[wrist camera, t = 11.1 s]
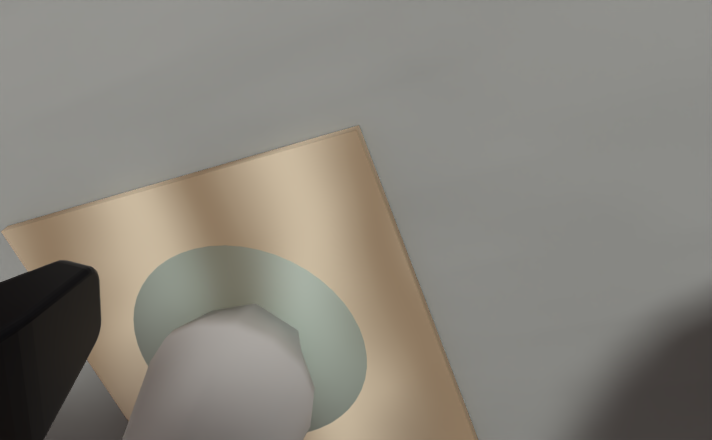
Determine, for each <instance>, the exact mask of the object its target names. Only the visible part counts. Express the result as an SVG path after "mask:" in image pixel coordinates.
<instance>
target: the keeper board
mask: <svg viewBox="0 0 712 440" xmlns="http://www.w3.org/2000/svg"><path fill="white" fill-rule="evenodd" d="M1 232H2V234H3V235H4V237H5V238H6V240H7V241H8V243H9V244H10V246H11V247H12V249H13V250H14V252H15V253H16V255H17V256H18V258H19V259H20V260H21V262H22V263H23V265H24V266H25V268H26V269H27V271H28V272H29V271H32V270H34V269H37V268H39V267H42V266H45V265H47V264H50V263H53V262H56V261H59V260H68V261H72V262H76V263H80V264H84V265H88V266H91V267H93V268H94V269H96V271H97V272H98V275H99V280H100V300H101V329H100V333H99V336H98V339H97V341H96V344H95V345H94V347H93V349H92V351H91V353H90V355H89V357H88V358H87V360H88V362H89V363H90V365H91V366H92V368H93V369H94V371H95V372H96V374H97V375H98V377H99V378H100V380H101V381H102V383H103V384H104V386H105V387H106V389H107V390H108V392H109V393H110V395H111V396H112V398H113V399H114V401H115V402H116V404H117V405H118V407H119V408H120V410H121V411H122V413H123V414H124V416H125V417H126V419H127V420H128V422H129V419H130V416H131V413H132V411H133V408H134V405H135V402H136V400H137V397H138V394H139V391H140V388H141V386H142V383H143V380H144V377H145V375H146V372H147V369H148V366H149V363H150V361H151V359H152V358H153V356H154V355H155V353H156V352H157V350H158V349H159V347H160V346H161V344H162V343H163V341H164V340H165V338H166V337H167V336H168V335H169V334H170V333H171V332H172V331H173V330H174V329H176V328H178V327H180V326H182V325H184V324H186V323H188V322H190V321H192V320H194V319H196V318H198V317H200V316H202V315H204V314H206V313H208V312H210V311H213V310H219V309H225V308H231V307H237V306H243V305H249V304H255V303H256V304H257V305H259V306H260V307H262V308H263V309H265V310H267V311H268V312H270V313H271V314H273V315H274V316H276V317H278V318H279V319H281V320H282V321H284V322H286V323H287V324H289V325H290V326H292V327H293V328H295V329H297V330H298V333H299V339H300V345H301V351H302V354H303V356H304V359H305V362H306V365H307V368H308V371H309V373H310V376H311V379H312V382H313V385H314V388H315V390H314V399H313V408H312V417H311V426H310V428H309V430H308V432H307V433H306V435H305V437H304V439H303V440H478V438H477V435H476V432H475V430H474V427H473V425H472V422H471V419H470V417H469V414H468V411H467V409H466V406H465V403H464V401H463V398H462V396H461V393H460V390H459V388H458V385H457V382H456V380H455V377H454V375H453V372H452V369H451V367H450V364H449V361H448V359H447V356H446V353H445V351H444V348H443V346H442V343H441V340H440V338H439V335H438V332H437V330H436V327H435V324H434V322H433V319H432V317H431V314H430V311H429V309H428V306H427V303H426V301H425V298H424V296H423V293H422V290H421V288H420V285H419V282H418V280H417V277H416V274H415V272H414V269H413V267H412V264H411V261H410V259H409V256H408V253H407V251H406V248H405V245H404V243H403V240H402V238H401V235H400V232H399V230H398V227H397V224H396V222H395V219H394V217H393V214H392V211H391V209H390V206H389V203H388V201H387V198H386V195H385V193H384V190H383V188H382V185H381V182H380V180H379V177H378V174H377V172H376V169H375V166H374V164H373V161H372V159H371V156H370V153H369V151H368V148H367V145H366V143H365V140H364V137H363V135H362V132H361V130H360V127H359V125H358V126H355V127H351V128H348V129H344V130H341V131H337V132H334V133H330V134H327V135H323V136H320V137H316V138H313V139H310V140H306V141H303V142H299V143H296V144H292V145H289V146H285V147H282V148H278V149H275V150H271V151H268V152H264V153H261V154H257V155H254V156H250V157H247V158H243V159H240V160H236V161H233V162H229V163H226V164H223V165H219V166H216V167H212V168H209V169H205V170H202V171H198V172H195V173H191V174H188V175H184V176H181V177H177V178H174V179H170V180H167V181H163V182H160V183H156V184H153V185H149V186H146V187H142V188H139V189H135V190H132V191H129V192H125V193H122V194H118V195H115V196H111V197H108V198H104V199H101V200H97V201H94V202H90V203H87V204H83V205H80V206H76V207H73V208H69V209H66V210H62V211H59V212H55V213H52V214H48V215H45V216H42V217H38V218H35V219H31V220H28V221H24V222H21V223H17V224H14V225H10V226H8V227H6V228H5V229H4V230H3V231H1Z"/></svg>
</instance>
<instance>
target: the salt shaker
mask: <svg viewBox="0 0 712 440" xmlns="http://www.w3.org/2000/svg"><path fill="white" fill-rule="evenodd" d="M314 390H315V388H314V385H313V382H312V379H311V376H310V373H309V371H308V368H307V365H306V362H305V359H304V356H303V354H302V351H301V345H300V339H299V333H298V330H297V329H295V328H293V327H292V326H290V325H289V324H287V323H286V322H284V321H282V320H281V319H279V318H278V317H276V316H274V315H273V314H271V313H270V312H268V311H267V310H265V309H263V308H262V307H260V306H259V305H257V304H256V303H255V304H249V305H243V306H237V307H231V308H225V309H219V310H213V311H210V312H208V313H206V314H204V315H202V316H200V317H198V318H196V319H194V320H192V321H190V322H188V323H186V324H184V325H182V326H180V327H178V328H176V329H174V330H173V331H172V332H171V333H170V334H169V335H168V336H167V337H166V338H165V340H164V341H163V343H162V344H161V346H160V347H159V349H158V350H157V352H156V353H155V355H154V356H153V358H152V359H151V361H150V363H149V366H148V369H147V372H146V375H145V377H144V380H143V383H142V386H141V388H140V391H139V394H138V397H137V400H136V402H135V405H134V408H133V411H132V413H131V416H130V419H129V422H128V425H127V427H126V430H125V433H124V436H123V438H122V440H303V439H304V437H305V435H306V433H307V432H308V430H309V428H310V426H311V417H312V408H313V399H314Z"/></svg>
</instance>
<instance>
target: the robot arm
mask: <svg viewBox="0 0 712 440" xmlns="http://www.w3.org/2000/svg"><path fill="white" fill-rule="evenodd" d="M100 329H101V300H100V280H99V275H98V272H97V271H96V269H94V268H93V267H91V266H88V265H84V264H80V263H76V262H72V261H68V260H59V261H56V262H53V263H50V264H47V265H45V266H42V267H39V268H37V269H34V270H32V271H29V272H26V273H24V274H21V275H18V276H16V277H13V278H10V279H8V280H5V281H3V282H0V440H44V438H45V436H46V434H47V432H48V431H49V429H50V427H51V425H52V423H53V421H54V419H55V418H56V416H57V414H58V412H59V410H60V408H61V407H62V405H63V403H64V401H65V399H66V397H67V395H68V394H69V392H70V390H71V388H72V386H73V384H74V382H75V381H76V379H77V377H78V375H79V373H80V371H81V370H82V368H83V366H84V364H85V362H86V360H87V358H88V357H89V355H90V353H91V351H92V349H93V347H94V345H95V344H96V341H97V339H98V336H99V333H100Z"/></svg>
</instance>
